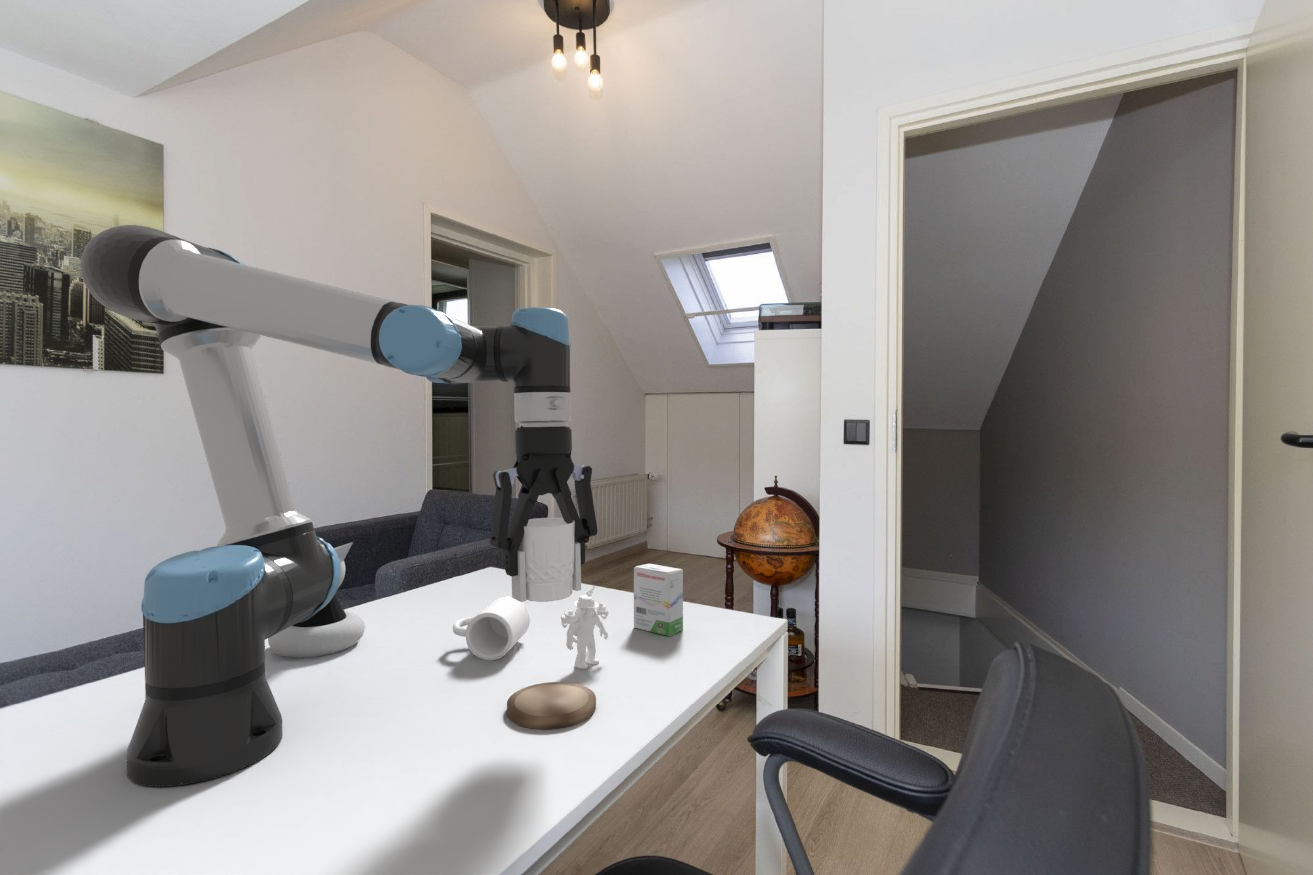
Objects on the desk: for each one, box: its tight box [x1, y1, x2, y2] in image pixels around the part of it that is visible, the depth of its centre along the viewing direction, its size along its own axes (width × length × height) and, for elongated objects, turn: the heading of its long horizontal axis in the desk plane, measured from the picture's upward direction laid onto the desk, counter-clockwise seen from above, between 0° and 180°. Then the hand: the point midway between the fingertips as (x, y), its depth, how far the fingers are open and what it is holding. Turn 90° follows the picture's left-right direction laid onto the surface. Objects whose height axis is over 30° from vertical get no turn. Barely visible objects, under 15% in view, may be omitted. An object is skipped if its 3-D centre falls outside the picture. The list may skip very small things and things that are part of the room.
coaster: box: [506, 681, 597, 730], centre depth 88 cm, size 12×12×1 cm
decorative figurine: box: [267, 541, 366, 659], centre depth 112 cm, size 15×15×20 cm
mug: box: [452, 596, 531, 661], centre depth 111 cm, size 12×10×8 cm
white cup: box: [519, 517, 575, 603], centre depth 88 cm, size 8×8×10 cm
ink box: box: [633, 563, 684, 637], centre depth 122 cm, size 8×5×12 cm, turn 53°
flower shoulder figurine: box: [560, 586, 609, 670], centre depth 104 cm, size 9×4×12 cm, turn 137°
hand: (547, 593), depth 88 cm, fingers closed on white cup, 7 cm apart
